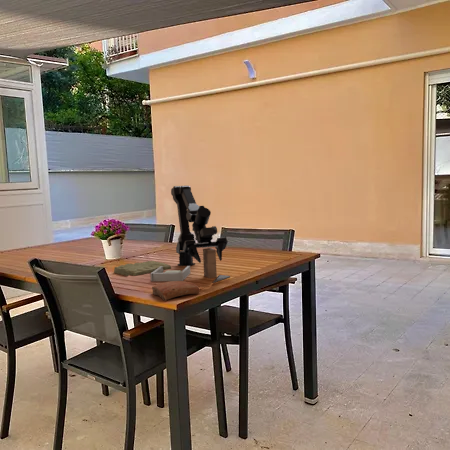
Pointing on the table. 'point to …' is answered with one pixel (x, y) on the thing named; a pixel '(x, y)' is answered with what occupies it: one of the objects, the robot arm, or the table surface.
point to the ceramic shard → (174, 289)
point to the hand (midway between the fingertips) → (210, 261)
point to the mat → (220, 278)
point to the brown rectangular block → (209, 262)
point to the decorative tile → (140, 268)
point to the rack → (169, 275)
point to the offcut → (173, 271)
